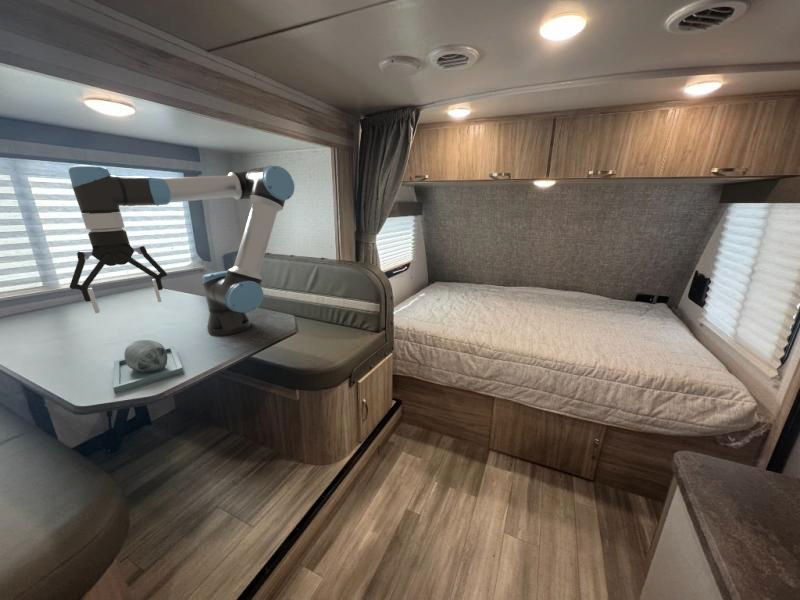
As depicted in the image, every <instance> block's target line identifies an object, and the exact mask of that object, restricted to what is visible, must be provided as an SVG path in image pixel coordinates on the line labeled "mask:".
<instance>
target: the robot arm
mask: <svg viewBox="0 0 800 600" xmlns="http://www.w3.org/2000/svg"><path fill="white" fill-rule="evenodd" d="M68 175H69V178H70V183H71V187H72V190H73V192H74V196H75V199H76V200H77V204H78V208H79V210H80V213H81V217H82V220H83V223H84V226H85V229H86V230H89V232H88V233H87V235H88V239H89V241H90V244H91V248H92V250H91V251H87V250H86V251H83V250H79V251H77V253H76V255H77V262H76V267H75V269H74V272H73V275H72V278H71V281H70V285H69V288H70V289H71V290H79V291H81V293H82V296H83V298H84V301H85V302H86V303H88V302H90V303H91V304H92V308H93V310H94V314H100V307H99V304H98V302H97V298H96V296H95V292H94V290H93V287H89V286H90V285H91V284H92V282H93V281H94V279H96V277H97V276H98V274H99V273H100V272H101V270H102V269H103V268H104V266H110V267H114V266H117V265H118V266H119V265H120V266H121V265H122V266H124V265H126V264H127V263H129V264H130V265H132V266H134V267H136V268H138V270H141V272H144V273H145V274H147V275H148V276H150V277H152V279H151V280H152V285H153V288H154V292H155V296H156V298H157V302H158V303H161V302H162V298H161V295H160V291H162V290H163V289H164V288H163V284H162V278H164V277H167V275H168V273H167V272H166V271H165V270H164V268H163V267H162V266H161V265H160V264H158V263H157V261H156V260H155V259H154V258H153V257H152V256H151V255H150V254H149V253H148V252H147V249H146V247H145V245H139V246H135V247H132V246H131V244H130V241H129V238H128V233H127V231H126V230H125V229H124V228H125V223H124V220H123V216H122V212H121V210H120V206H122V207H135V206H138V207H140V206H157V207H158V206H164V205H165V206H166V205H167V206H168V205H169V204H170V203H177V202H178V203H179V202H190V201H191V202H192V201H201V200H202V201H203V200H204V201H205V200H215V199H226V198H227V199H228V198H233V199H235V200H237V201H238V200H250V201H251V203H252V204H251V208H250V211H249V214H248V217H247V220H246V224H245V228H244V231H243V233H242V238H241V240H240V244H239V248H238V251H237V255H236V257H235V261H234V264H233V266H232V267H231V268H228V269H227V270H223V271H217V272H211V273H206V274H204V275H203V276H202V278H201V279H202V286H203V290H204V294H205V299H206V303H207V304H206V305H207V308H208V314H209V315H208V321H207V325H206V326H207V327H206V328H207V332H208V334H209V335H211V336H218V337H219V336H220V337H221V336H229V335H234V334H238V333H240V332H243V331H246V330H248V329H249V328H250V327H251V326H252V325H251V319H250V317H249V316H248V314H247V313H250V312H252V311H255V310H256V309H257V308H258V307H260V306H261V304H262V302H263V300H264V290H263V289H262V283H263V278H262V276H261V275H260V272H261V268H262V265H263V262H264V258H265V256H266V255H265V254H266V251H267V247H268V245H269V242H270V239H271V234H272V232H273V231H272V230H273V227H274V224H275V221H276V217H277V215H278V212H280V211H282V210H283V209H284V206H285V202H286V200H289V199H290V198H292V197H293V195H294V192H295V182H294V180H293V178H292V176H291V174H290V172H289V171H288V170H287V169H285V168H284V167H282V166H279V165H266V166H263V167H256V168H251V169H246V170H241V171H237V172H235V171H234V172H233V171H232V172H229V173H228V174H227V175H210V176H209V175H204V176H180V177H154V176H153V177H152V176H118V175H111V173H110V171H109V170H108V168H106V167H103V166H96V165H95V166H94V165H73V166H70V167H69V168H68ZM134 253H137V254H138V255H142V257H144V258H145V259H146V260H147V261H148V263H149V264H151V266H152V267H153V268H155V270H156V271H157V272H158V273H156V272H155V271H153V270H151V269H150V268H148V267H147V266H145V265H144V264H143V263H141V262H139V261H137V260H136V259H135V258H133V257H132V256H133V254H134ZM90 257H94V258H95V259H96V260H98V263H96V265H94V268H93V269H92V270H91V272H90V273H89V274H88V276H87V278H85V280H84V281H83V282H82V283H79V282H80V279H81V276H82V273H83V270H84V266H85V264H86V261H88V260H90Z"/></svg>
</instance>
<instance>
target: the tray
mask: <svg viewBox="0 0 800 600" xmlns="http://www.w3.org/2000/svg"><path fill="white" fill-rule="evenodd" d="M164 348H165V350H166V353H167V364H166V366H165V367H164V368H163V369H161V370H159V371H154V372H143V371H137V370H134V369H131V368H130V367H129V366H128V365H127V364H126V361H125V358H122V359H117V360H113V361H114V362H113V383H112V385H113V386H112V388H113V391H114V394H115V395H117V394H121V393H124V392H128V391H130V390H134V389H137V388H140V387H144V386H147V385H150V384H153V383H157V382H160V381H163V380H167V379H170V378H173V377H177V376H180V375H183V374H184V373H185V372H184V369H183V365H182V363H181V360H180V358H179V354H178V352H177V350H176V348H175V346H174V345H173V346H169V347H164Z"/></svg>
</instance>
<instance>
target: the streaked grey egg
mask: <svg viewBox="0 0 800 600" xmlns="http://www.w3.org/2000/svg"><path fill="white" fill-rule="evenodd" d="M165 348H166V347H164V345H163V344H162V343H160V342H158V341H155V340H150V339H139V340H136V341H133V342H132V343H131V342H130V343H129V344H128V345H127V346H126V348H125V351H124V353H123V354H124V359H125V361H126V364H127V365H128V366H129V367H130V368H131V369H134V370H137V371H143V372H154V371H159V370H161V369H163V368H164V367H165V366H166V364H167V353H166V350H165Z"/></svg>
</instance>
